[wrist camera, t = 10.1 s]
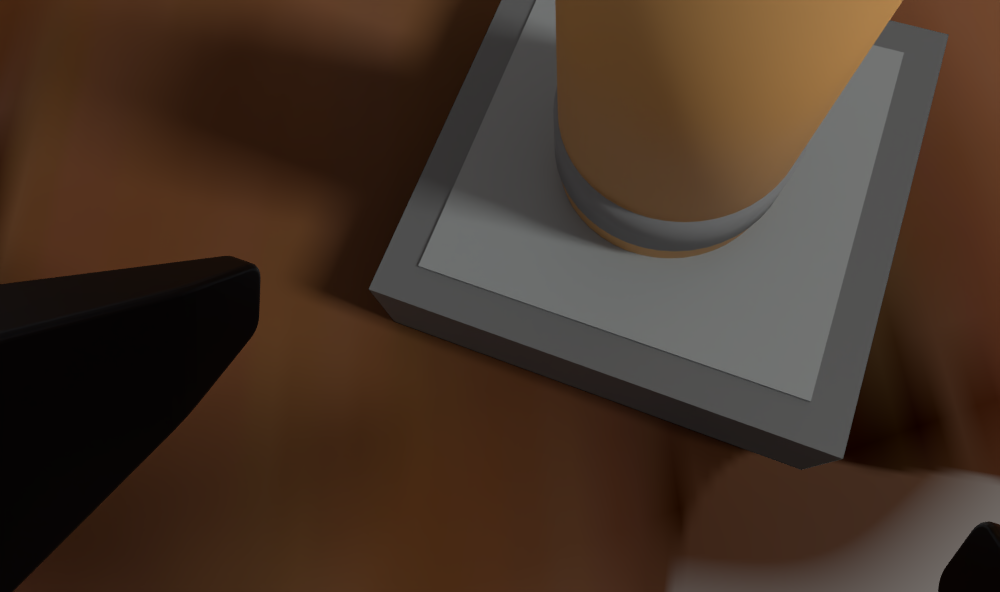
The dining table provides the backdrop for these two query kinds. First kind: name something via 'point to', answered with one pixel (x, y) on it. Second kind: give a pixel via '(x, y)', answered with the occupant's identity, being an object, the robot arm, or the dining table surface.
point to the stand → (666, 281)
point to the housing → (695, 109)
